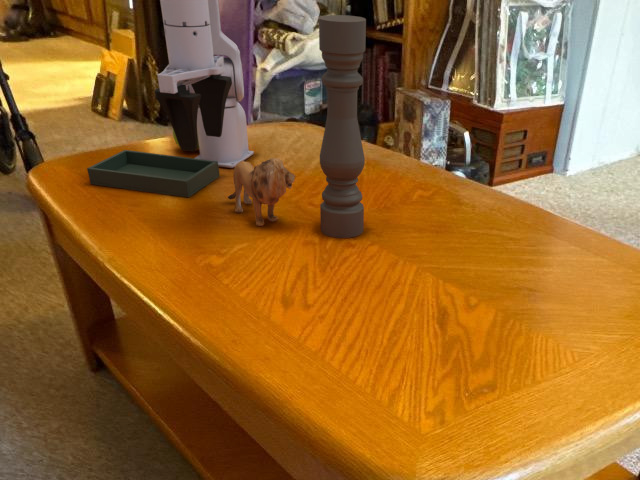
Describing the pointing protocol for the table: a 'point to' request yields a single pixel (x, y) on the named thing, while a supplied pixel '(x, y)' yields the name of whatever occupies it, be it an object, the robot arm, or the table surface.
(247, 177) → the lion figurine
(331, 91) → the candle holder
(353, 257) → the table surface
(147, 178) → the tray
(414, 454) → the table surface
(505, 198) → the table surface
